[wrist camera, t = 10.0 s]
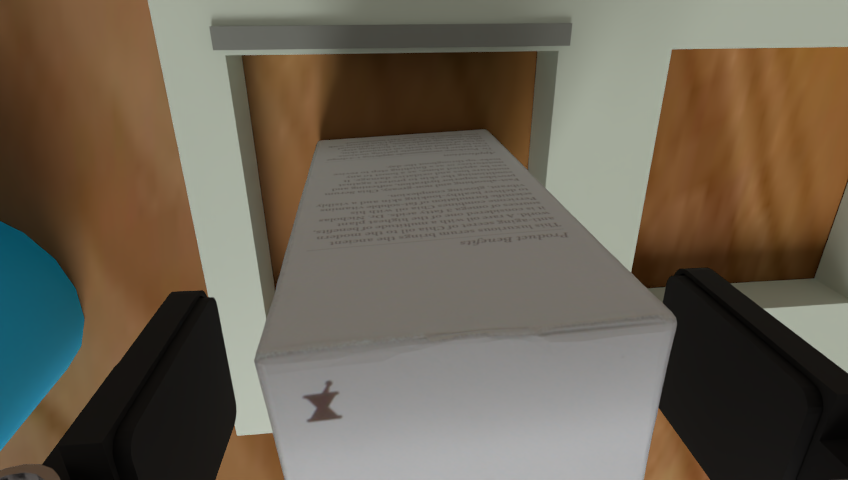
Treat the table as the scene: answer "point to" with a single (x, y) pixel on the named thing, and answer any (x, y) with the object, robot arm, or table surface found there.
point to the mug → (32, 327)
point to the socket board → (550, 131)
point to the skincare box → (454, 324)
